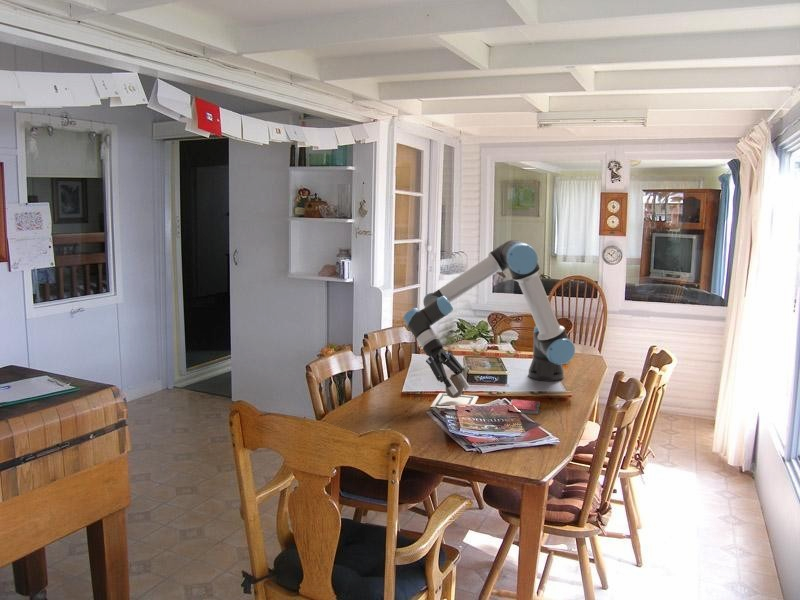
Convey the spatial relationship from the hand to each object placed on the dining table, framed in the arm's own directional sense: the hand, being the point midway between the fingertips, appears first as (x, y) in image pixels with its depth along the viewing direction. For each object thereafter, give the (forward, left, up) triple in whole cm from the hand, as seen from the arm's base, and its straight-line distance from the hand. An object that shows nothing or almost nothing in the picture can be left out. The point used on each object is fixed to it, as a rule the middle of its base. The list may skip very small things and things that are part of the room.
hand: (461, 390), depth 267 cm
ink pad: (-24, -3, -6) cm, 25 cm away
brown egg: (+3, -2, -3) cm, 5 cm away
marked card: (+3, -2, -6) cm, 7 cm away
